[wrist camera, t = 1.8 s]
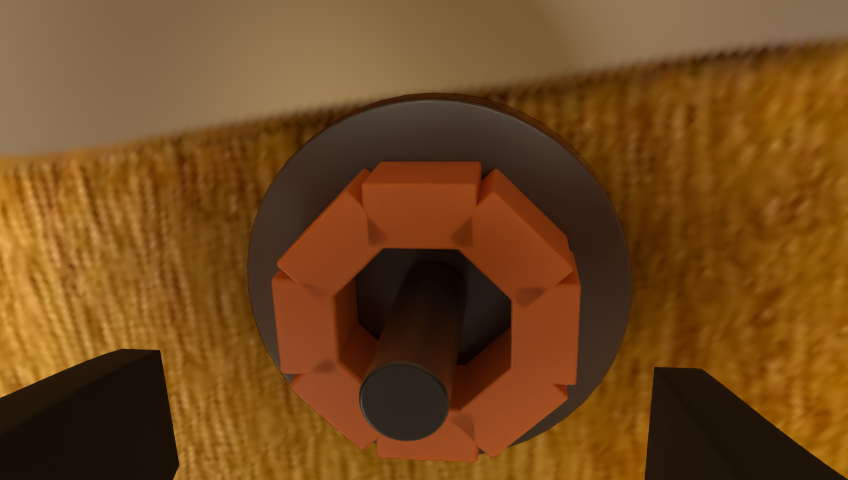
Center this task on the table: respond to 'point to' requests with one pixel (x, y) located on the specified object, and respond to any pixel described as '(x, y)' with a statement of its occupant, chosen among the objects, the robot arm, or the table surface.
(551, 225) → the ring
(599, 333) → the stake
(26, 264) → the table surface
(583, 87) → the table surface
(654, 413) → the robot arm
